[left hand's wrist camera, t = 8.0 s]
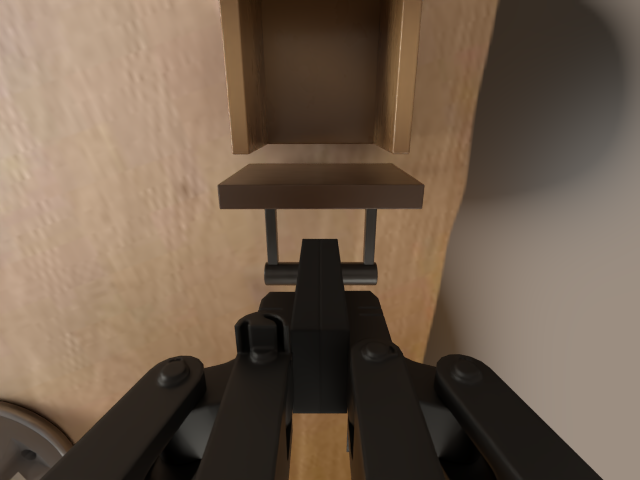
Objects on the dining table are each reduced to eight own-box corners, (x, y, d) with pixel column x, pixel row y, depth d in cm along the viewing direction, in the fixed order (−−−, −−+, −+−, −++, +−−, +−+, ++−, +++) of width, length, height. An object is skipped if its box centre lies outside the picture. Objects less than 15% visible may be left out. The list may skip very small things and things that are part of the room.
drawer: (386, 255, 26) (411, 309, 18) (255, 255, 26) (230, 309, 18) (414, -141, 18) (477, -314, 11) (227, -140, 18) (164, -312, 11)
